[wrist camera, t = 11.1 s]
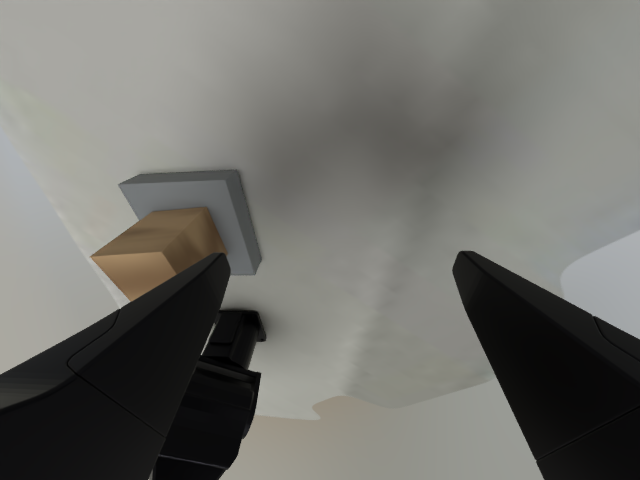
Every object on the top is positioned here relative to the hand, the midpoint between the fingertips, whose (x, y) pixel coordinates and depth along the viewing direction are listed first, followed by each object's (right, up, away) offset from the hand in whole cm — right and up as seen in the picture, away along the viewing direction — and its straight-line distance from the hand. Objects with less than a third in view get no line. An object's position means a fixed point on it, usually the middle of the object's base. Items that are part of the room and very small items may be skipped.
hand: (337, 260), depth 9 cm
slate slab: (-12, +3, +14) cm, 19 cm away
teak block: (-12, +1, +12) cm, 17 cm away
